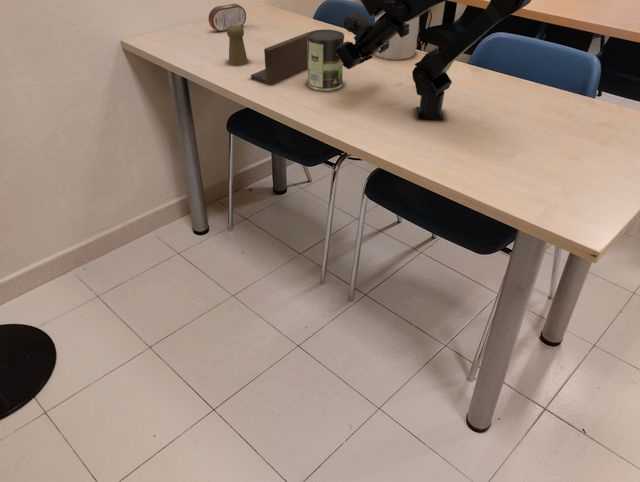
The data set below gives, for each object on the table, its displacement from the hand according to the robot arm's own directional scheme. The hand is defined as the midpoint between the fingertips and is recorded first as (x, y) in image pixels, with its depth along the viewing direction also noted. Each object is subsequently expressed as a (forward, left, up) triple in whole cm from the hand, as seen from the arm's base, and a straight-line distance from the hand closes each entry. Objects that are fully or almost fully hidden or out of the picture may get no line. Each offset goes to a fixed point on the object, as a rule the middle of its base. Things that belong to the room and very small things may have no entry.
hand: (344, 65), depth 139 cm
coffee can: (+3, +5, -7) cm, 10 cm away
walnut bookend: (+12, +19, -7) cm, 24 cm away
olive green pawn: (+19, +35, -7) cm, 40 cm away
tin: (+54, +46, -7) cm, 71 cm away
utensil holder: (+33, -15, -7) cm, 37 cm away
